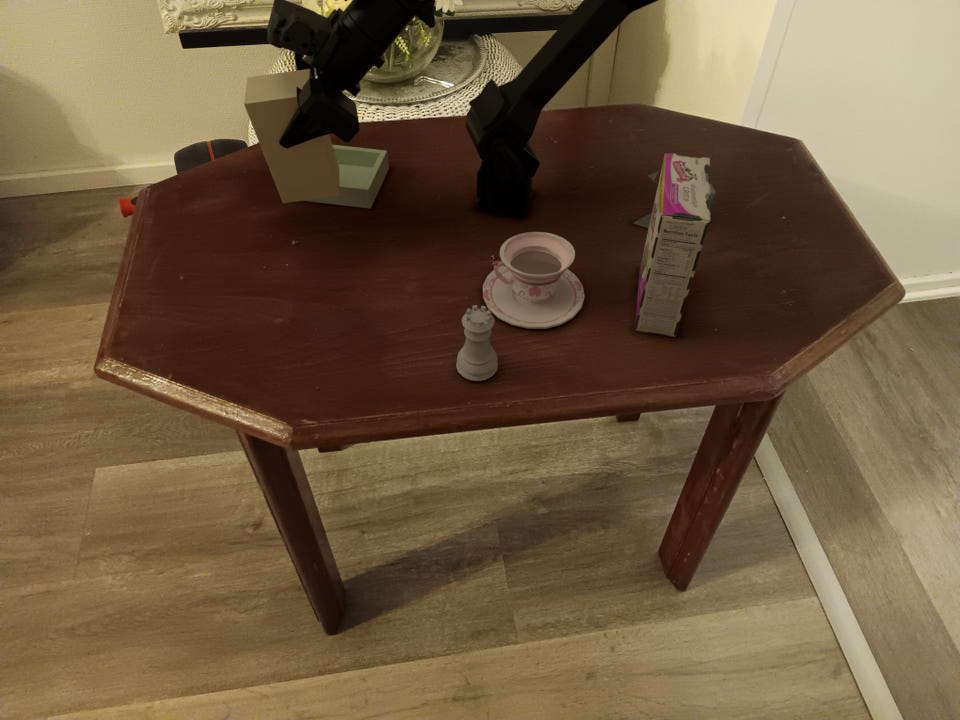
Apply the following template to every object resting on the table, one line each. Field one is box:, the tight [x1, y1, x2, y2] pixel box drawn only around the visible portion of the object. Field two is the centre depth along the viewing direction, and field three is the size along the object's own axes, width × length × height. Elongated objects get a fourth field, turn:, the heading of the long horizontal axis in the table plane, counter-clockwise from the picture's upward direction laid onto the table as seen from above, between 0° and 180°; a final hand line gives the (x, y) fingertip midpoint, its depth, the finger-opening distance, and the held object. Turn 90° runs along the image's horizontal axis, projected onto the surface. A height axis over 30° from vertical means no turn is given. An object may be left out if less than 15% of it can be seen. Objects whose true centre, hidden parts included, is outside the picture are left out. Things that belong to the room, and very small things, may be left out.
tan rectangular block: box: [243, 69, 340, 204], centre depth 84 cm, size 7×5×14 cm
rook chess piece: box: [455, 304, 499, 382], centre depth 74 cm, size 4×4×8 cm
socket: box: [303, 144, 390, 210], centre depth 98 cm, size 12×10×3 cm
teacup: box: [482, 231, 586, 330], centre depth 82 cm, size 12×12×6 cm
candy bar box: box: [634, 152, 711, 338], centre depth 78 cm, size 11×5×16 cm, turn 168°
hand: (282, 131), depth 83 cm, fingers closed on tan rectangular block, 6 cm apart
